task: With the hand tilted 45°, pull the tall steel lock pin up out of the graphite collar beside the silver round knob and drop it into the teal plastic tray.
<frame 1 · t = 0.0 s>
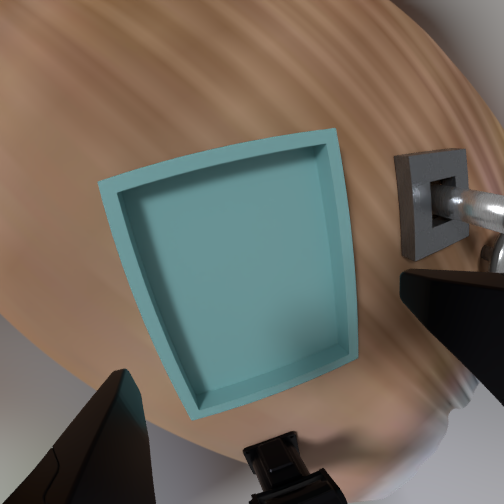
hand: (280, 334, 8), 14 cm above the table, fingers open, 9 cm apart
pin collar: (430, 198, 27), on the table
silver round knob: (484, 251, 33), on the table
tray: (245, 278, 24), on the table
lock pin: (430, 198, 27), resting in pin collar
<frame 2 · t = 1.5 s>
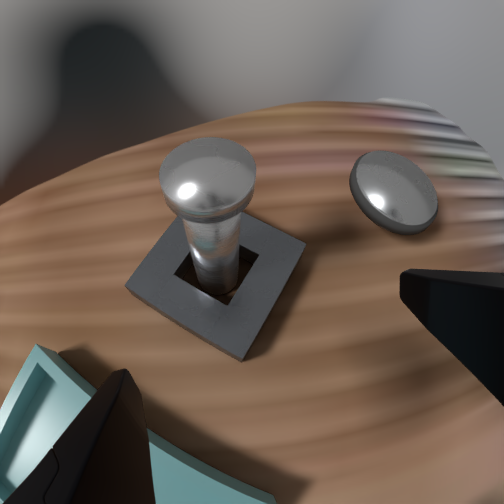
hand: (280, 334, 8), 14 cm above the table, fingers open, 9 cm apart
pin collar: (217, 275, 24), on the table
silver round knob: (378, 215, 27), on the table
tray: (104, 500, 14), on the table
lock pin: (217, 275, 24), resting in pin collar
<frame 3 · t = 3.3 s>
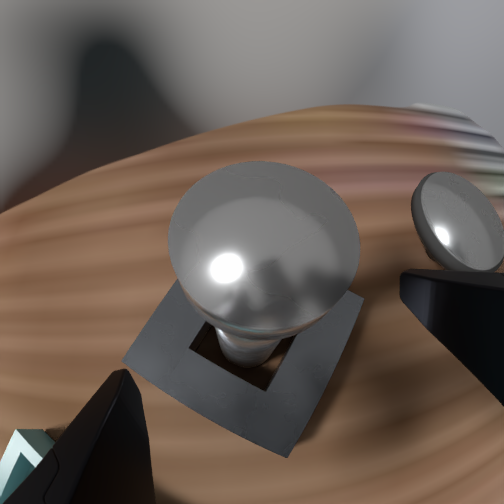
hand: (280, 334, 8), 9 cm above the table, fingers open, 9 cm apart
pin collar: (246, 341, 17), on the table
silver round knob: (434, 250, 21), on the table
lock pin: (246, 341, 17), resting in pin collar
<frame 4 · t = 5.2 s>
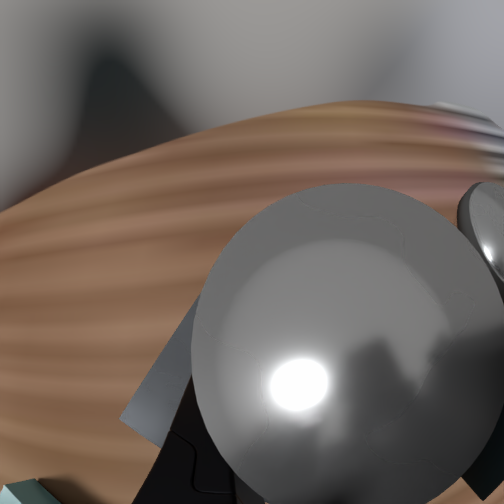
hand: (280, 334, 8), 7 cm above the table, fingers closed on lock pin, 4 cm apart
pin collar: (271, 388, 14), on the table
silver round knob: (472, 269, 17), on the table
lock pin: (271, 388, 14), resting in pin collar, touching gripper
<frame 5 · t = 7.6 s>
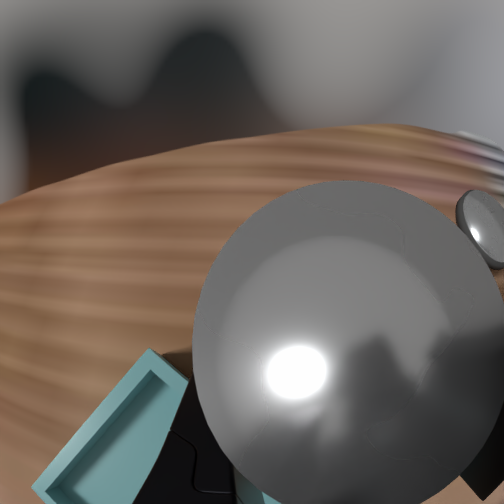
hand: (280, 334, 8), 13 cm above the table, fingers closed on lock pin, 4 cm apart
silver round knob: (466, 246, 27), on the table
lock pin: (271, 387, 14), point 7 cm above the table, touching gripper
when the fingers open (9 cm above the table, at t = 10.0 s): lock pin drops 1 cm, resting on tray.
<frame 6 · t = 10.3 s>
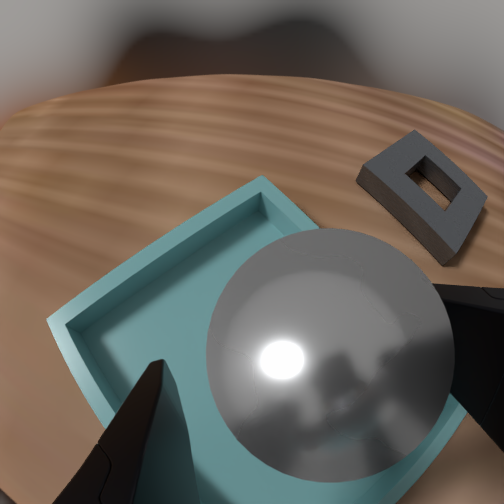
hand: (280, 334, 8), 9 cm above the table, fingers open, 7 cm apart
pin collar: (425, 195, 24), on the table
tray: (265, 389, 16), on the table
lock pin: (267, 389, 15), point 1 cm above the table, touching tray
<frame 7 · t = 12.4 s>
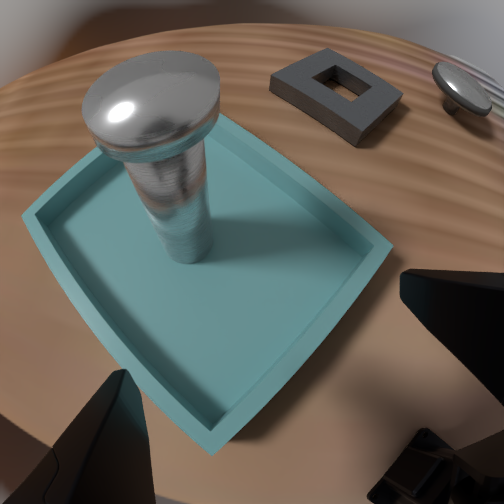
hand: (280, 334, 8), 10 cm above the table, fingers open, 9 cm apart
pin collar: (338, 96, 27), on the table
silver round knob: (448, 109, 28), on the table
tray: (190, 245, 20), on the table
lock pin: (188, 240, 19), point 1 cm above the table, touching tray
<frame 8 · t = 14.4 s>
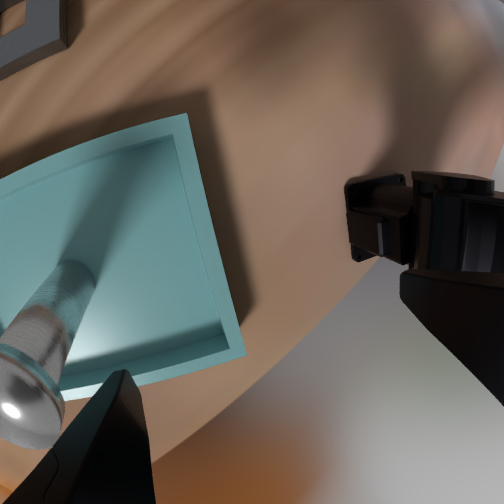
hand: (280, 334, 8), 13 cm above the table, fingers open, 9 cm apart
pin collar: (10, 25, 11), on the table
tray: (76, 277, 18), on the table
lock pin: (73, 282, 17), point 1 cm above the table, touching tray
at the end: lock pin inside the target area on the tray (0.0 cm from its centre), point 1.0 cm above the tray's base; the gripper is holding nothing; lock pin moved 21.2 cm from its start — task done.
